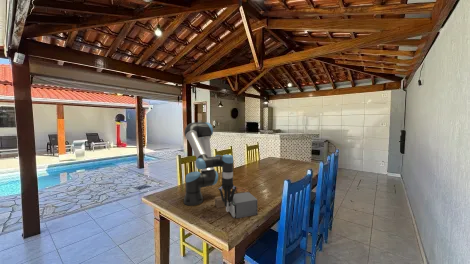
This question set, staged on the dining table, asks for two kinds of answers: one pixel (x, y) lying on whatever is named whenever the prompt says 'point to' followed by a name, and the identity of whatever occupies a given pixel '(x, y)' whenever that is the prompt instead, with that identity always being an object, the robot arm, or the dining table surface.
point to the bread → (238, 190)
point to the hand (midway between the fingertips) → (227, 210)
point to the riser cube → (219, 202)
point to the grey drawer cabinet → (244, 204)
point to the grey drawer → (232, 209)
